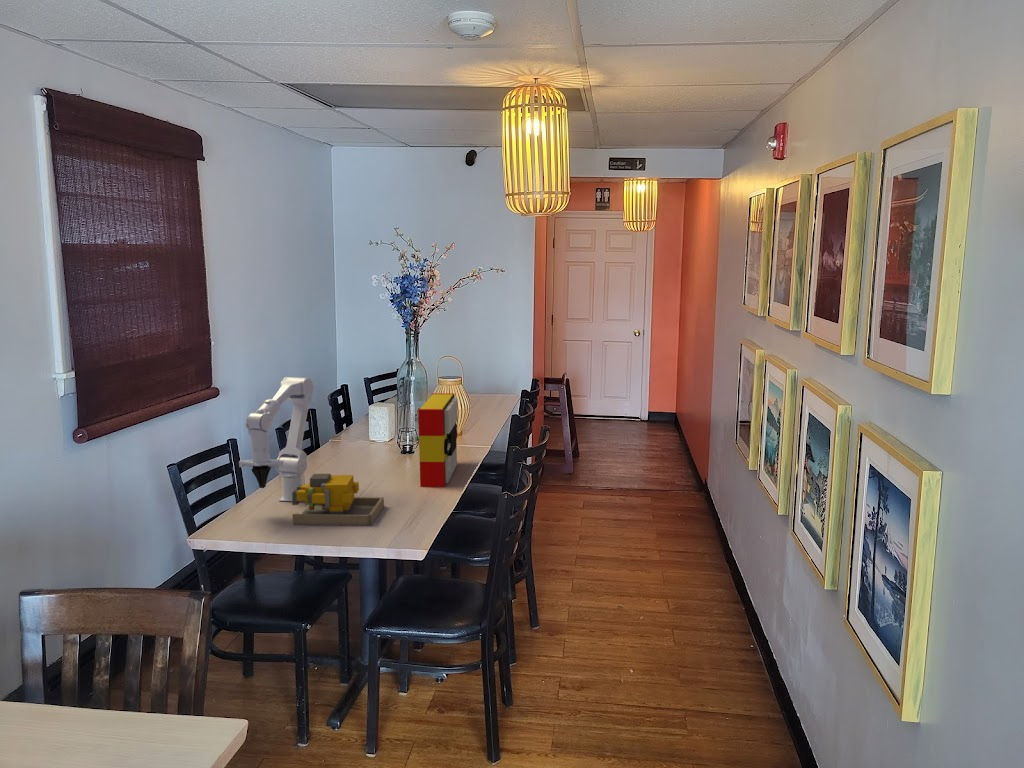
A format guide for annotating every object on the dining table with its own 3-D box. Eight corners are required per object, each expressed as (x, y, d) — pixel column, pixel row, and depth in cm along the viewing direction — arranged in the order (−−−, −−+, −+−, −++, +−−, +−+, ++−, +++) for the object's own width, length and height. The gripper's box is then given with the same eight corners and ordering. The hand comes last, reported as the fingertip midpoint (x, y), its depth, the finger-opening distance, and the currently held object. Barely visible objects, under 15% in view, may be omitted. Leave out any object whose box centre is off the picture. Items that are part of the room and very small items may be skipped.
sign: (448, 487, 291) (447, 409, 286) (420, 487, 292) (418, 409, 287) (459, 463, 324) (458, 393, 318) (434, 463, 324) (432, 393, 319)
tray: (311, 505, 272) (310, 496, 271) (384, 506, 270) (383, 497, 270) (292, 524, 253) (292, 514, 252) (371, 525, 251) (370, 515, 251)
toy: (291, 520, 255) (351, 519, 255) (289, 482, 253) (350, 482, 253) (302, 506, 269) (359, 505, 269) (300, 470, 267) (358, 469, 267)
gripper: (234, 451, 256) (237, 490, 258) (277, 451, 255) (279, 491, 257) (242, 445, 263) (245, 484, 265) (284, 446, 262) (286, 484, 264)
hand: (262, 487), depth 262 cm, fingers closed
